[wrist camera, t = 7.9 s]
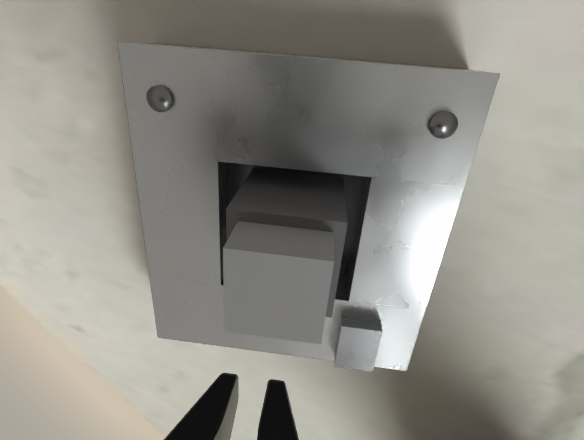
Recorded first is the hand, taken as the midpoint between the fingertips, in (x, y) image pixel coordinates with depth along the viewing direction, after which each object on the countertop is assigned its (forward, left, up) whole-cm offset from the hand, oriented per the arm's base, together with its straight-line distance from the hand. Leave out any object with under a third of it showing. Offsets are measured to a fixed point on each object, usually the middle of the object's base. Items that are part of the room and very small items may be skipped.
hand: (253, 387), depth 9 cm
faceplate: (0, 0, -11) cm, 11 cm away
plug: (0, 0, -10) cm, 10 cm away
